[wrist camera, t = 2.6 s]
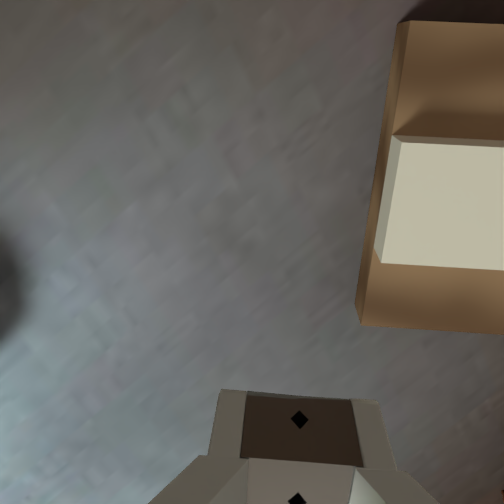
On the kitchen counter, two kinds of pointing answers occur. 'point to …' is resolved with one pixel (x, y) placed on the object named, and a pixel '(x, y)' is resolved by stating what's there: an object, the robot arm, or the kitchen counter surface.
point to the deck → (447, 126)
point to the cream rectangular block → (443, 203)
